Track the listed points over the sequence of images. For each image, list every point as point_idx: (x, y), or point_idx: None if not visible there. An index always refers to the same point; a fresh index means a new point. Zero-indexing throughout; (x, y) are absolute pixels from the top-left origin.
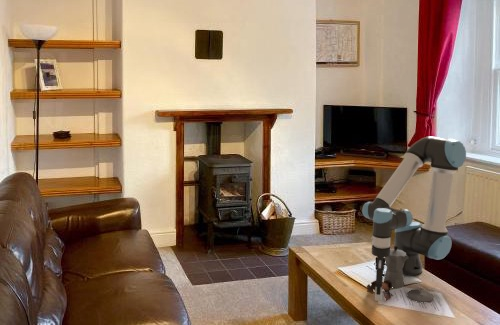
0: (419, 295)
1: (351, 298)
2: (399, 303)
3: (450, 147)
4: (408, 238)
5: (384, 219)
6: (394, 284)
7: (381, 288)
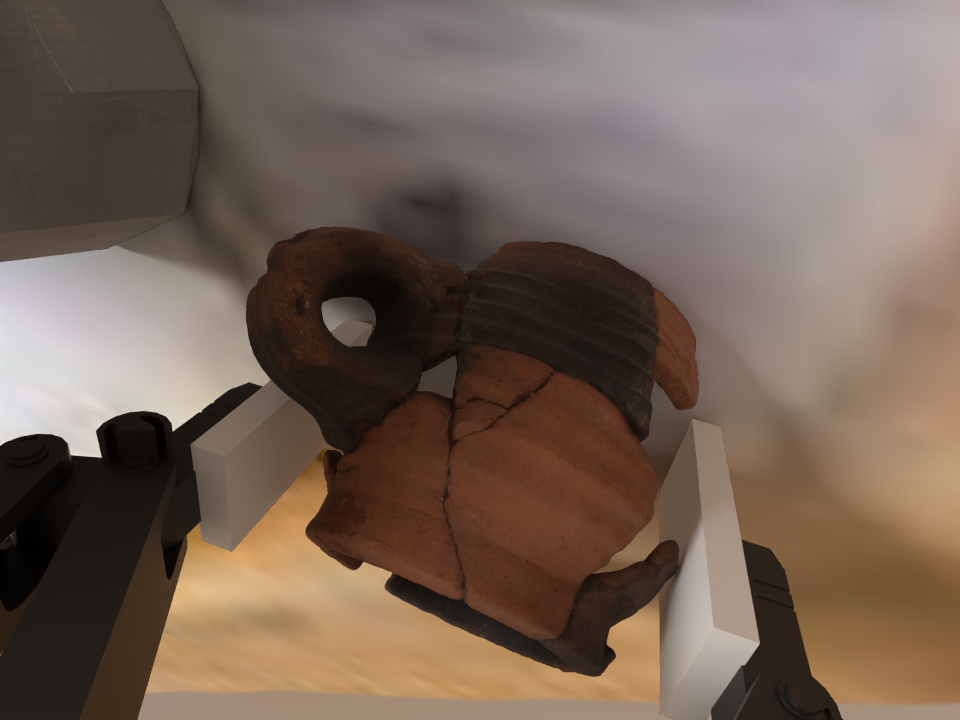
0: None
1: (591, 676)
2: (816, 126)
3: None
4: None
5: None
6: (144, 106)
7: (747, 613)
